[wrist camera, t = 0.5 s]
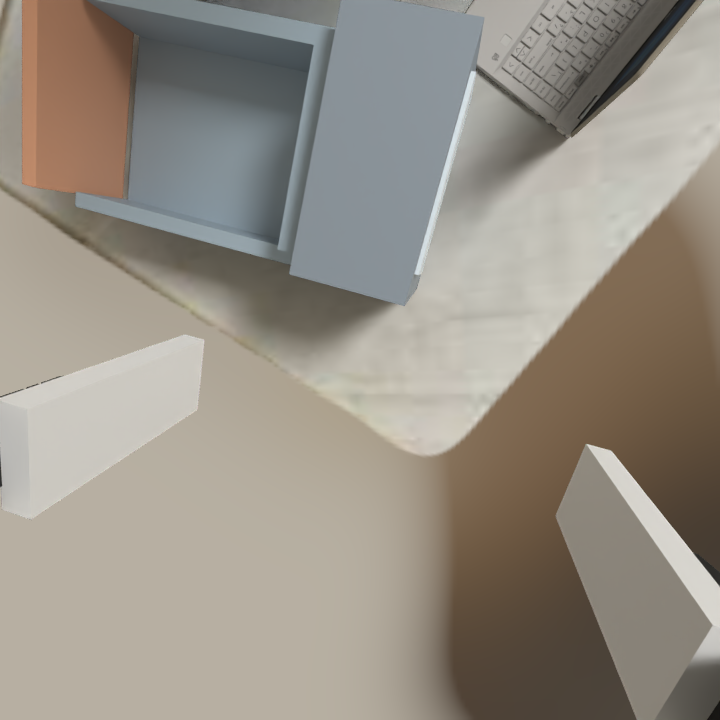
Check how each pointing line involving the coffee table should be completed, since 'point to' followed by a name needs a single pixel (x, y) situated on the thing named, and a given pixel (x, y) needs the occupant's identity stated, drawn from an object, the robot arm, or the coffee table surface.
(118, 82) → the panel
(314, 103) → the grey drawer box
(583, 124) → the laptop
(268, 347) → the coffee table surface
